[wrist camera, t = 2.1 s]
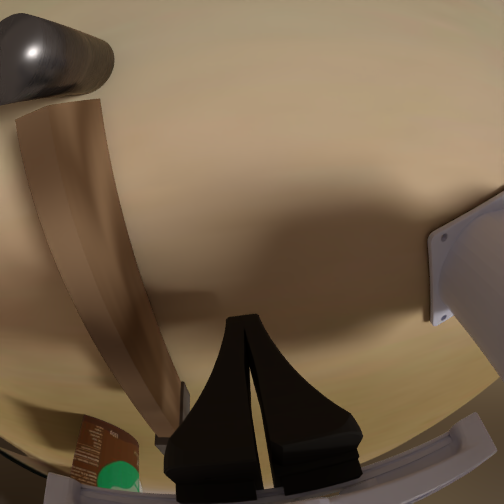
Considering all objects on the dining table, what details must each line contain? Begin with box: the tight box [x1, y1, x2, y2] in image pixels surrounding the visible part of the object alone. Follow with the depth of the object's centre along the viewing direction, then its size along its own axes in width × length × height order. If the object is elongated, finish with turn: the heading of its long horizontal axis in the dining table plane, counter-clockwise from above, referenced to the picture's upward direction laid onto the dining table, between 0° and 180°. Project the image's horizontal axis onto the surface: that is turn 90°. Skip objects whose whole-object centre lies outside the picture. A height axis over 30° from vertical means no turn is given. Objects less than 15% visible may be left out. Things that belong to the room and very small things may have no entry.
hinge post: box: [0, 13, 114, 105], centre depth 6 cm, size 2×2×6 cm
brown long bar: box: [15, 99, 190, 455], centre depth 11 cm, size 18×2×4 cm, turn 4°
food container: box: [70, 415, 140, 492], centre depth 18 cm, size 12×6×10 cm, turn 163°
